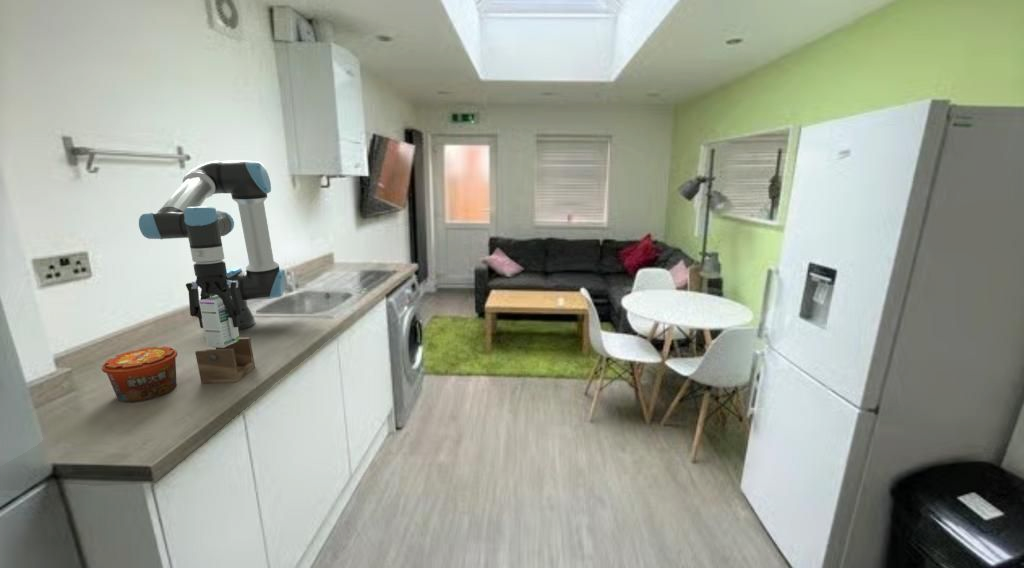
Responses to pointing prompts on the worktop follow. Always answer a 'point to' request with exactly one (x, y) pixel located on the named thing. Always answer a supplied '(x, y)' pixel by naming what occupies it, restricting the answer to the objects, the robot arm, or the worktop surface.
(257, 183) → the robot arm
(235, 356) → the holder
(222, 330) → the syrup box
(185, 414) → the worktop surface
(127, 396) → the food container
